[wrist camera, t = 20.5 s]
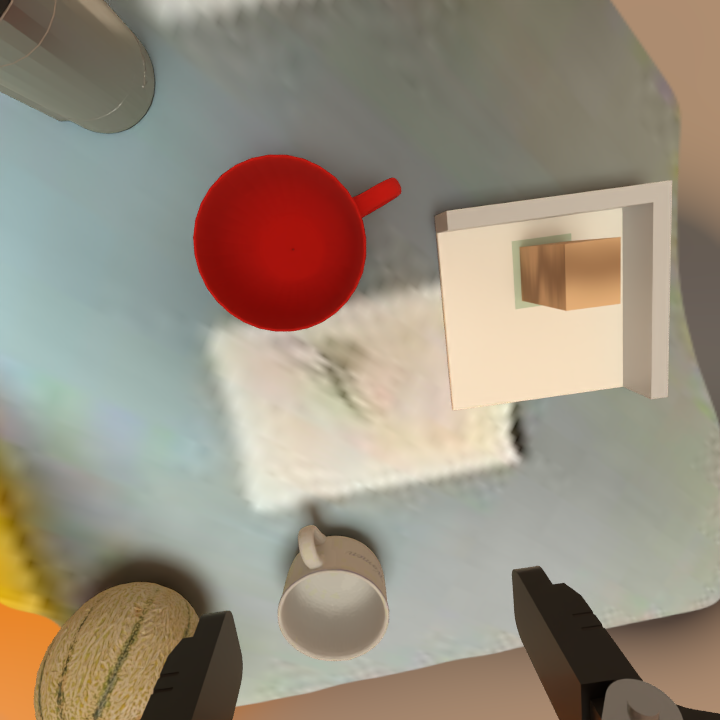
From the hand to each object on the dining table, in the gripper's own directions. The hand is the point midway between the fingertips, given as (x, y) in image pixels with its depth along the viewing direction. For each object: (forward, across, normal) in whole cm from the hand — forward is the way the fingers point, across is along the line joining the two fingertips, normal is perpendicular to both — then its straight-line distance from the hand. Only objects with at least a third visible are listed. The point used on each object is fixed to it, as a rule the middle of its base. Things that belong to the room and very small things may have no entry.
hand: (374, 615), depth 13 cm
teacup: (+34, +5, +22) cm, 41 cm away
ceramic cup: (+34, +2, -12) cm, 36 cm away
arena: (+34, -20, -3) cm, 40 cm away
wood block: (+33, -20, -6) cm, 39 cm away
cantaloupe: (+34, +26, +26) cm, 50 cm away
